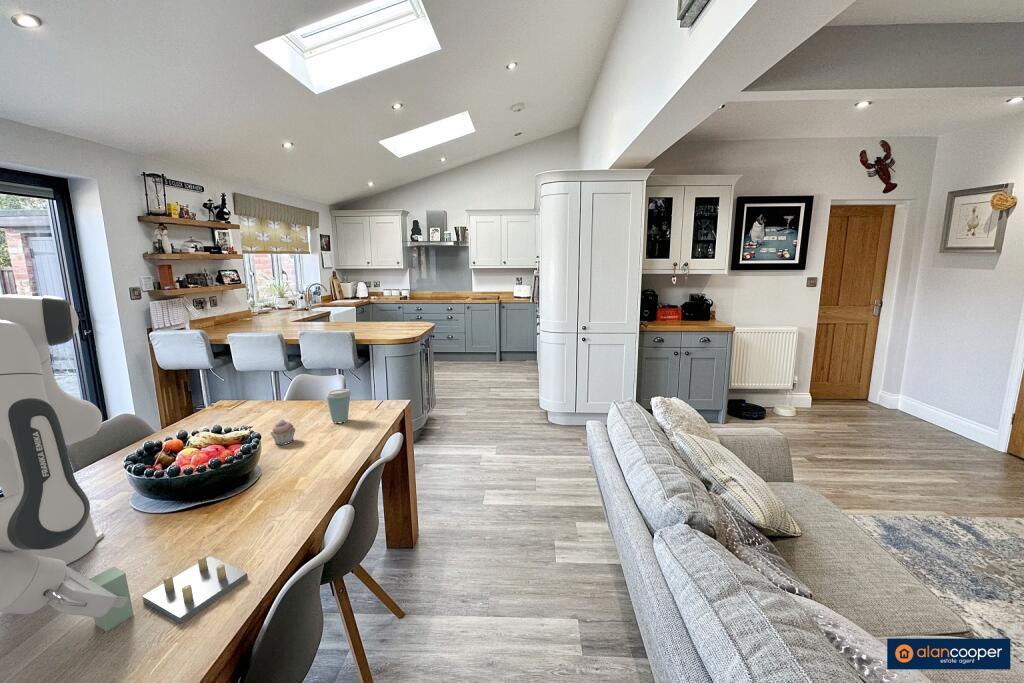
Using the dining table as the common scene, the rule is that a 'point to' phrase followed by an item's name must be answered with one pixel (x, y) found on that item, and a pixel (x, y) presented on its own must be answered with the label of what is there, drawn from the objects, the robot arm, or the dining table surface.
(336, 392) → the disposable coffee cup
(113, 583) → the green block
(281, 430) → the cupcake
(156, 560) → the dining table surface
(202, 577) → the plate
